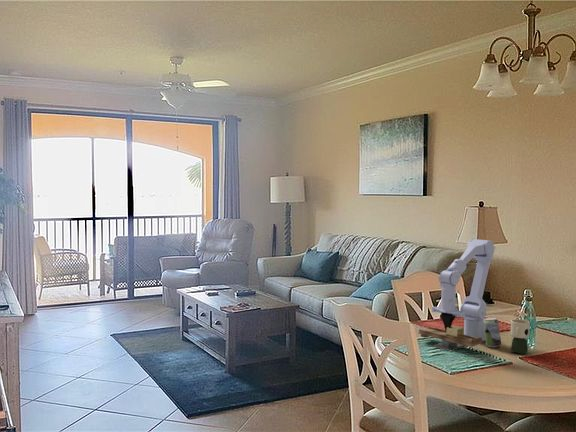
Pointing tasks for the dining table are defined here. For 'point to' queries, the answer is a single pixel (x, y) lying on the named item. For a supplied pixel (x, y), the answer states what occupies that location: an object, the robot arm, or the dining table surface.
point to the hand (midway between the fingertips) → (447, 331)
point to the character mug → (520, 335)
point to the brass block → (455, 332)
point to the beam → (441, 335)
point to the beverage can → (492, 332)
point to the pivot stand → (447, 345)
